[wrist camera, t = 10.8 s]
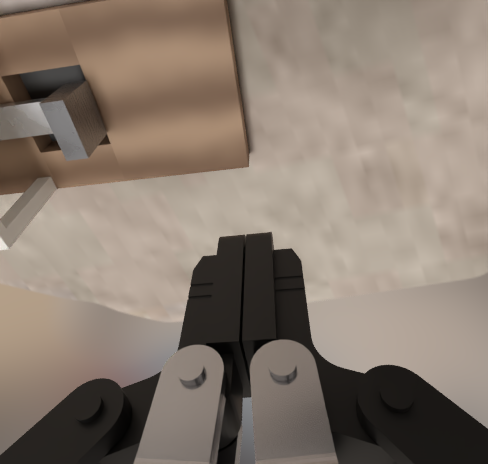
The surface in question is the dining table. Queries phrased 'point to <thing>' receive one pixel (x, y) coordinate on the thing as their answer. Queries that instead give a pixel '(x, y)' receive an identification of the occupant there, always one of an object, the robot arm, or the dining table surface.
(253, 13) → the dining table surface
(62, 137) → the sled
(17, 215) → the white small table
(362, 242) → the dining table surface
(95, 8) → the deck
